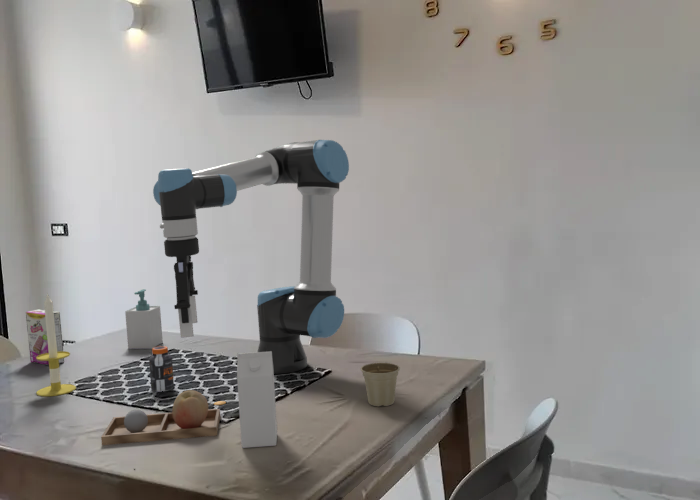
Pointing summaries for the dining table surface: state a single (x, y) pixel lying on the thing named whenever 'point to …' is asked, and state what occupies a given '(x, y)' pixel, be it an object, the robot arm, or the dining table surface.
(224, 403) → the tile
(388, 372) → the flower pot
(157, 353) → the pill bottle
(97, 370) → the dining table surface
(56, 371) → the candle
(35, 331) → the candy bar box
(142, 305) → the soap bottle
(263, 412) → the milk carton
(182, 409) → the fruit
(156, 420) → the divided wooden tray
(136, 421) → the grey ball
